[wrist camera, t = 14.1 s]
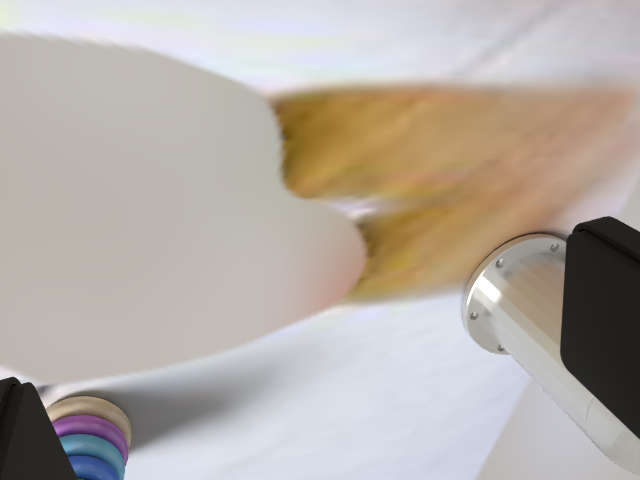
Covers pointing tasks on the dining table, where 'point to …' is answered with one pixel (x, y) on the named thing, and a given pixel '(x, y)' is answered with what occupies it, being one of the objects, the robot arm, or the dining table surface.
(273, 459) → the dining table surface
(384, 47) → the dining table surface
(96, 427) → the stacking toy
